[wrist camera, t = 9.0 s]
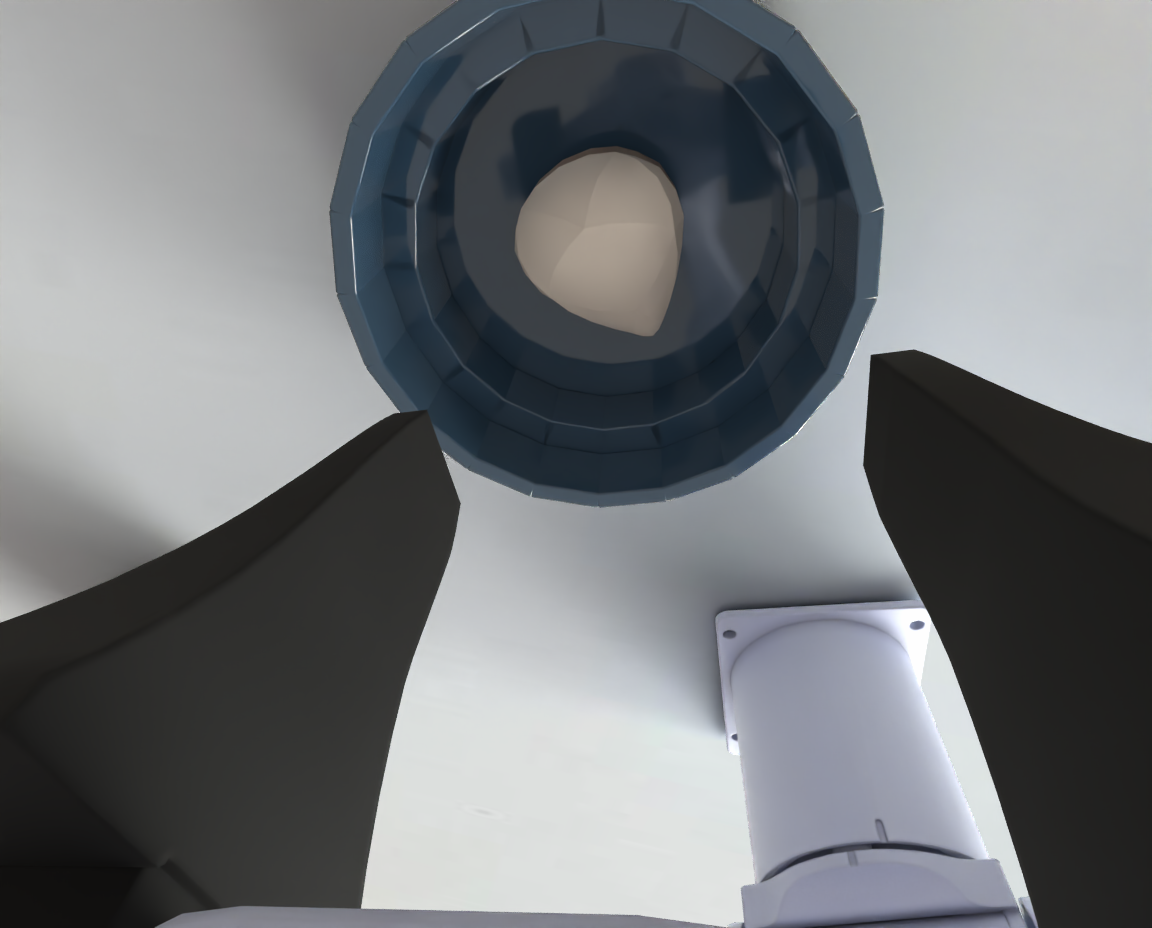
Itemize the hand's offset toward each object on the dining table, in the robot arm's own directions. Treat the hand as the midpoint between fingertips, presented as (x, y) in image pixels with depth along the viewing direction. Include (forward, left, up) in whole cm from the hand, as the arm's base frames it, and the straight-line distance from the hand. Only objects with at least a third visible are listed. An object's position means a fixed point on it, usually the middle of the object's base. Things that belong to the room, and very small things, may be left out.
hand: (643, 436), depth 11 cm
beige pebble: (+1, +1, -9) cm, 9 cm away
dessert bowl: (+1, +1, -9) cm, 9 cm away
